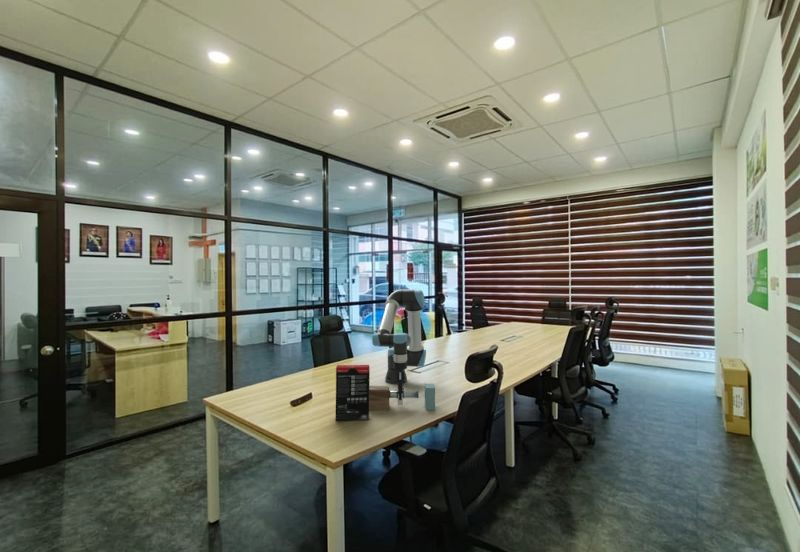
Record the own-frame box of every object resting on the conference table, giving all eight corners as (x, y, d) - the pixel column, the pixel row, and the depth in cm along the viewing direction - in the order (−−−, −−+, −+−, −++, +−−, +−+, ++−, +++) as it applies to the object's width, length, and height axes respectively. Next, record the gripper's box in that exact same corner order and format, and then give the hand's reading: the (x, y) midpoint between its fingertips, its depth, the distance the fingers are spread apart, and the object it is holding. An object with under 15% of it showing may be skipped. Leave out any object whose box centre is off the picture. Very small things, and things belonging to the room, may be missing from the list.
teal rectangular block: (424, 404, 205) (424, 383, 205) (433, 404, 205) (433, 383, 205) (425, 410, 197) (425, 387, 197) (435, 410, 197) (434, 387, 197)
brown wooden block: (368, 405, 205) (368, 385, 205) (389, 405, 205) (389, 385, 205) (366, 409, 198) (366, 389, 198) (388, 409, 198) (388, 389, 198)
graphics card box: (369, 415, 190) (369, 363, 190) (369, 420, 183) (369, 366, 183) (336, 416, 188) (336, 364, 188) (335, 422, 181) (335, 367, 181)
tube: (371, 399, 199) (371, 391, 199) (371, 396, 203) (371, 389, 203) (418, 399, 199) (418, 391, 199) (418, 396, 203) (418, 389, 203)
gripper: (393, 357, 210) (393, 398, 210) (393, 365, 193) (393, 409, 192) (406, 357, 210) (406, 398, 210) (407, 365, 192) (407, 409, 192)
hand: (400, 403), depth 201 cm, fingers closed on tube, 4 cm apart
